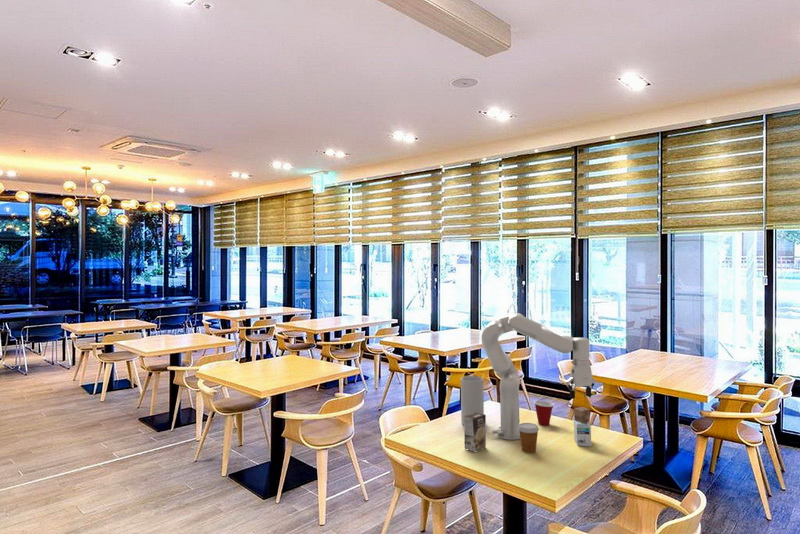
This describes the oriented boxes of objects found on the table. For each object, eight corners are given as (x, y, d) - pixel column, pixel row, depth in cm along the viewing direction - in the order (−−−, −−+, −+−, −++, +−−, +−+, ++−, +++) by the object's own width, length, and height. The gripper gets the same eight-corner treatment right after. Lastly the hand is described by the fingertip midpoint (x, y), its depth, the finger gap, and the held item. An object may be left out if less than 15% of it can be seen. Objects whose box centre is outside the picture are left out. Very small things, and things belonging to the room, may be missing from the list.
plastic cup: (557, 427, 268) (556, 405, 268) (537, 427, 268) (536, 405, 268) (551, 421, 279) (550, 399, 279) (531, 421, 279) (531, 400, 279)
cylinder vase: (459, 420, 282) (458, 376, 282) (480, 419, 283) (479, 375, 284) (464, 427, 270) (463, 381, 270) (486, 426, 271) (486, 380, 271)
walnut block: (581, 422, 241) (581, 410, 241) (574, 420, 246) (574, 407, 246) (589, 421, 243) (589, 409, 243) (582, 418, 248) (582, 406, 248)
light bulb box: (591, 446, 238) (591, 424, 238) (577, 446, 240) (576, 423, 240) (587, 439, 249) (587, 417, 249) (573, 438, 250) (573, 417, 250)
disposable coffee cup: (528, 456, 227) (527, 430, 228) (514, 449, 236) (513, 424, 236) (543, 452, 232) (543, 426, 232) (529, 446, 240) (529, 421, 240)
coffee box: (474, 452, 232) (474, 418, 232) (464, 449, 237) (463, 416, 237) (486, 447, 239) (485, 414, 239) (475, 444, 243) (475, 411, 243)
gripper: (571, 365, 238) (570, 400, 238) (600, 363, 244) (599, 397, 244) (561, 362, 245) (560, 396, 245) (589, 360, 251) (589, 394, 251)
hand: (580, 397), depth 245 cm, fingers open, 9 cm apart
